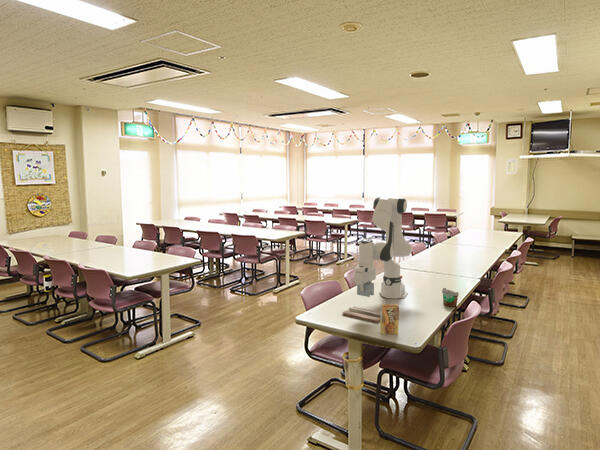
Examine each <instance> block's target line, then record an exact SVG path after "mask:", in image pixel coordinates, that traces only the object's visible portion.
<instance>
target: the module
mask: <svg viewBox="0 0 600 450" xmlns="http://www.w3.org/2000/svg"><path fill="white" fill-rule="evenodd" d="M356 287H357V288H356V295H357V296H361V297H367V298H370V297H371V296H374V295H375V283H374V282H372V283H370V282H367V283H365V284H364V286H363V287H364V291H361V288H360V285H356Z"/></svg>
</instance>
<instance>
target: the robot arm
mask: <svg viewBox="0 0 600 450" xmlns="http://www.w3.org/2000/svg"><path fill="white" fill-rule="evenodd" d="M407 208H408V203H407V200H406V198H404V197H397V196H378V197H376V198H375V199H374V200H373V210H374V212H373V214H372V223H373V224H374V225H375V227H377V228H378V229H380V230H382V231H384V232H385V240H379V241H376V242H374V241H373V240H372V239H370V238H364V239H360V241H359V245H358V263H357V265H356V266H355V267H354V270H353V271H354V272H355V273H354V284H355V285H356V286H357V285H360V288H361V291H364V287H363V286H364V284H365V283H367V282H370V283H373V281H375V280H376V278H377V271H376V267H375V265H374V264H375V262H374V261H375V260H377V261H381V262H382V264H383V265H382V266H383V276H382V282H381V286H380V291H379V292H378V294H379V295H381V297H383V298H387V299H405V298H406V297H407V296H408V294H409V291H408V290H406V285H405V284H404V283H403V282H402V279H403V275H401V265H400V263H398V262H397V261H395V260H393V258H404V257H410V256H411V254H412V252H413V247H412V245H411V243H409V241H408V240H407V239H406V238H405V237H404V234H403V226H402V225H403V222H402V221H403V219H402V218H403V217H402V214H404V213H405V212H406V211H407Z"/></svg>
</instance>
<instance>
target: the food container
mask: <svg viewBox="0 0 600 450" xmlns="http://www.w3.org/2000/svg"><path fill="white" fill-rule="evenodd" d="M441 293H442V303H443V304H442V305H443V306H445V307H448V308H457V306H458V298H459V295H460V294H459V292H458V291H457V292H456V291H453V290H450V289H447V288H446V287H443V288H442V290H441Z"/></svg>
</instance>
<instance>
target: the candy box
mask: <svg viewBox="0 0 600 450" xmlns="http://www.w3.org/2000/svg"><path fill="white" fill-rule="evenodd" d="M380 312H381V318H380V322H379V323H380V324H379V325H380V327H379V329H380V330H379V332H380V333H381V335H398V334H399V324H400V323H399V322H400V321H399V320H400V319H399V316H400V305H398V304H397V303H383V304H382V303H381V304H380Z"/></svg>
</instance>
